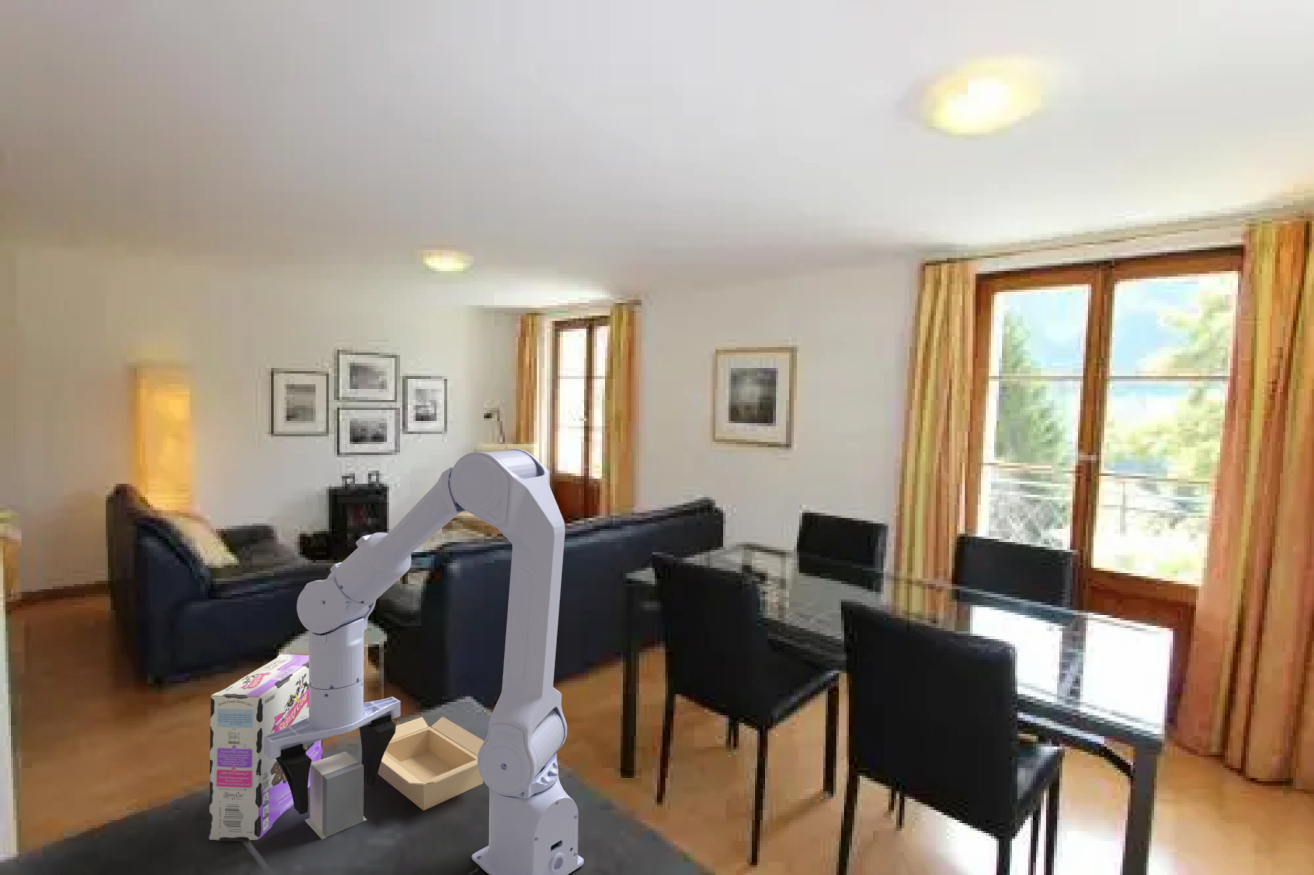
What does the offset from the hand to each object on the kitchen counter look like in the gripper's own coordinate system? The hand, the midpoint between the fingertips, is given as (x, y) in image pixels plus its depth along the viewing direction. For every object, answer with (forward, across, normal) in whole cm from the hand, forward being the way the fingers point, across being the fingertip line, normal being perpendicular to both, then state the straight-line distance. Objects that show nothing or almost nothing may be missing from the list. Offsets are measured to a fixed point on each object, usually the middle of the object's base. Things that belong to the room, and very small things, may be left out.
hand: (336, 795), depth 77 cm
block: (+3, 0, 0) cm, 3 cm away
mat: (+3, 0, 0) cm, 3 cm away
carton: (+3, -12, -1) cm, 12 cm away
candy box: (+3, +4, -9) cm, 10 cm away
